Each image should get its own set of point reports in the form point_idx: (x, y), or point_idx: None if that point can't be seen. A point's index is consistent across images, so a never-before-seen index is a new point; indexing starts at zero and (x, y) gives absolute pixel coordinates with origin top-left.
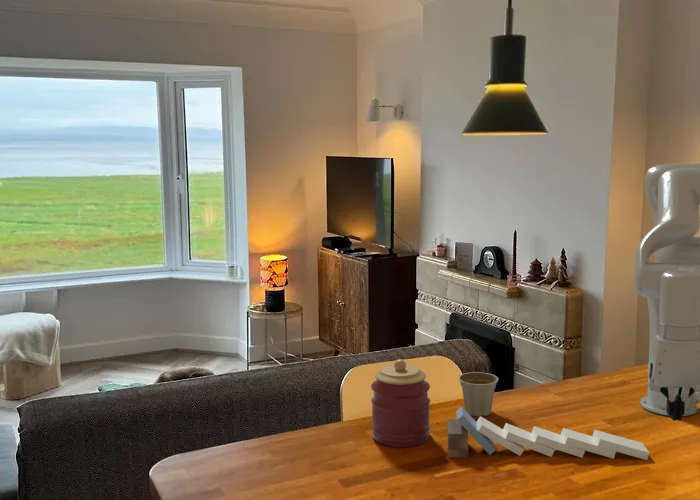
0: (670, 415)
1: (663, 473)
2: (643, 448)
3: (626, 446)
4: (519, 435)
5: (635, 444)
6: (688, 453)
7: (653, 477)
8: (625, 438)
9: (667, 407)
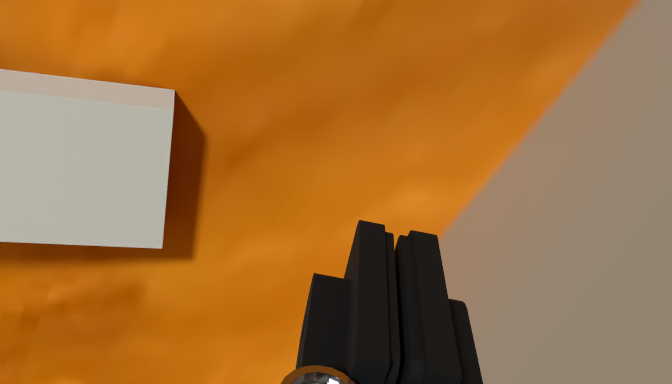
0: (348, 270)
1: (185, 350)
2: (142, 203)
3: (6, 240)
4: None
5: (98, 169)
6: (448, 181)
7: (124, 373)
8: (41, 101)
9: (305, 326)
